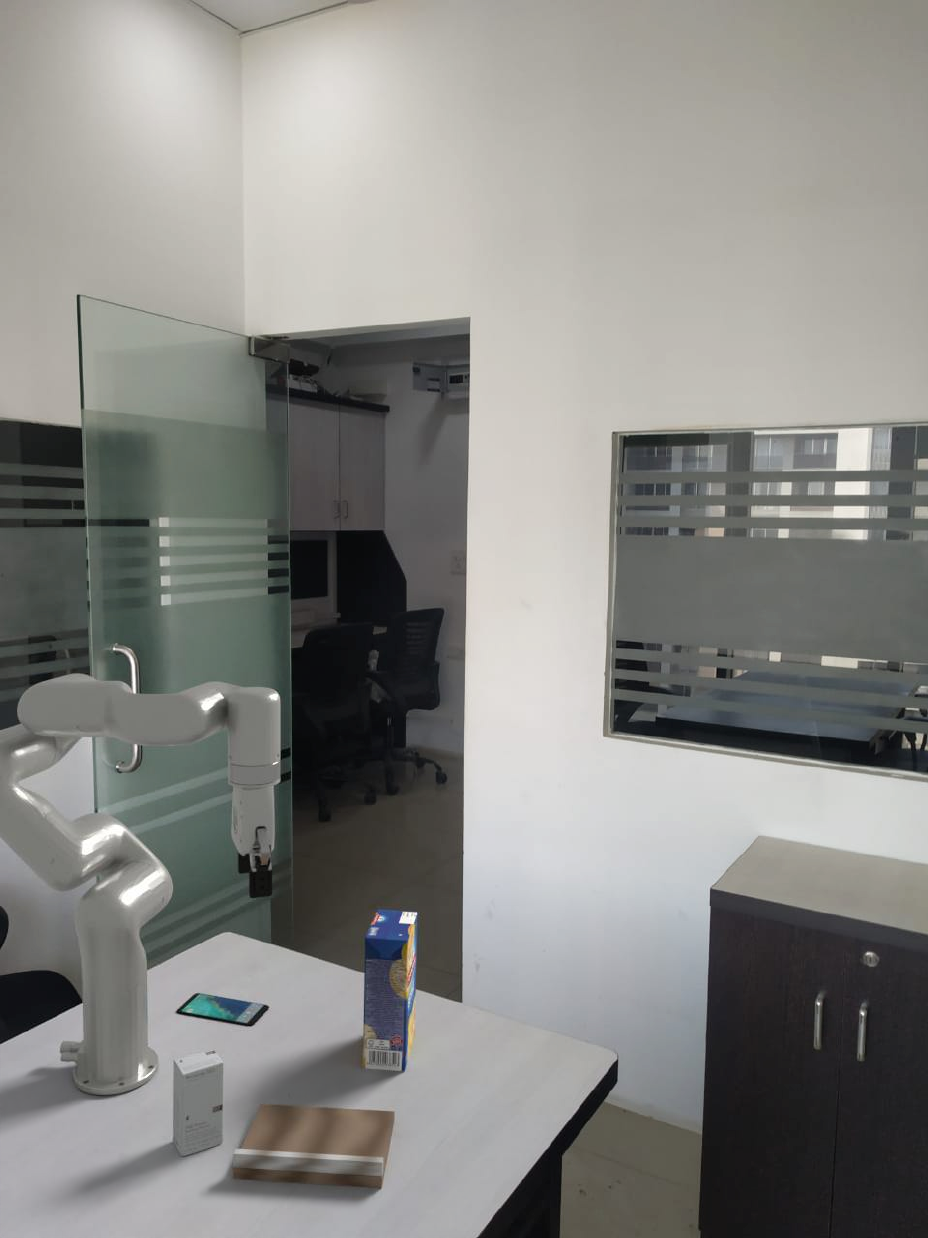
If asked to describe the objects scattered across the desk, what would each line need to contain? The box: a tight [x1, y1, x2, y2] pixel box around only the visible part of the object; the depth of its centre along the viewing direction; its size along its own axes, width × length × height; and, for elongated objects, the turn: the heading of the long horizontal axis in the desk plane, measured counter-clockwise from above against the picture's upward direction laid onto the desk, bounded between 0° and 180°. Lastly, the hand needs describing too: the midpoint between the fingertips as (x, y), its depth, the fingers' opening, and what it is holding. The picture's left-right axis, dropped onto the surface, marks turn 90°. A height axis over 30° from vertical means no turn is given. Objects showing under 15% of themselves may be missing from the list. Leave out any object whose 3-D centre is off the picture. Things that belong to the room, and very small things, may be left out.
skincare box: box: [172, 1049, 224, 1157], centre depth 135 cm, size 6×4×12 cm
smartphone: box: [176, 992, 270, 1027], centre depth 170 cm, size 7×1×15 cm
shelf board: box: [232, 1103, 395, 1189], centre depth 134 cm, size 20×14×4 cm
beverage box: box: [362, 909, 418, 1072], centre depth 158 cm, size 7×11×22 cm, turn 175°
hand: (254, 884), depth 143 cm, fingers open, 9 cm apart
